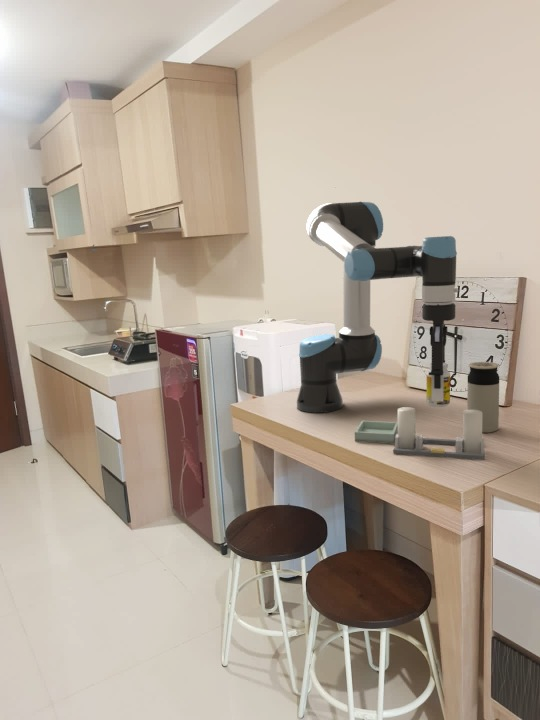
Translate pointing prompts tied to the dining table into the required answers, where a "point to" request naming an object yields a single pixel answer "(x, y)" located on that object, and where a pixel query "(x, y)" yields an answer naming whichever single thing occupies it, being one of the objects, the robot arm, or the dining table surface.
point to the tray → (376, 431)
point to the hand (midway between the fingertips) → (438, 397)
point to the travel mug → (484, 393)
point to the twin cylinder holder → (410, 441)
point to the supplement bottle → (445, 393)
